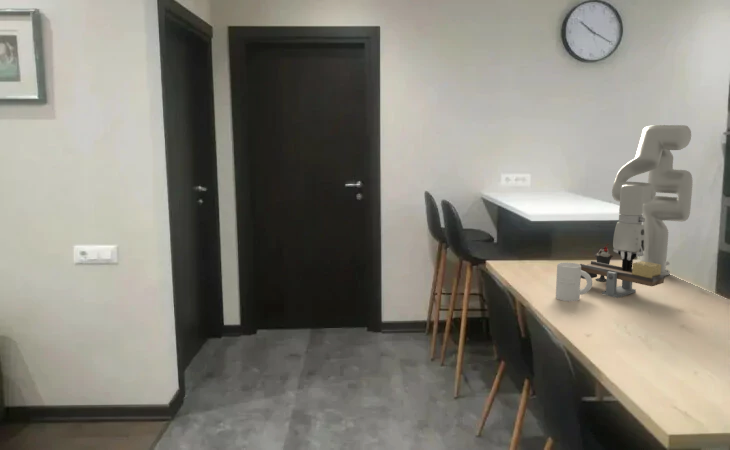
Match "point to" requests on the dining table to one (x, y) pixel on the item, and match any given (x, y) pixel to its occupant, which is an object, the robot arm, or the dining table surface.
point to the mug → (571, 282)
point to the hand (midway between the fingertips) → (626, 270)
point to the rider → (646, 269)
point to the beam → (619, 273)
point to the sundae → (603, 260)
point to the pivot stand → (617, 291)
